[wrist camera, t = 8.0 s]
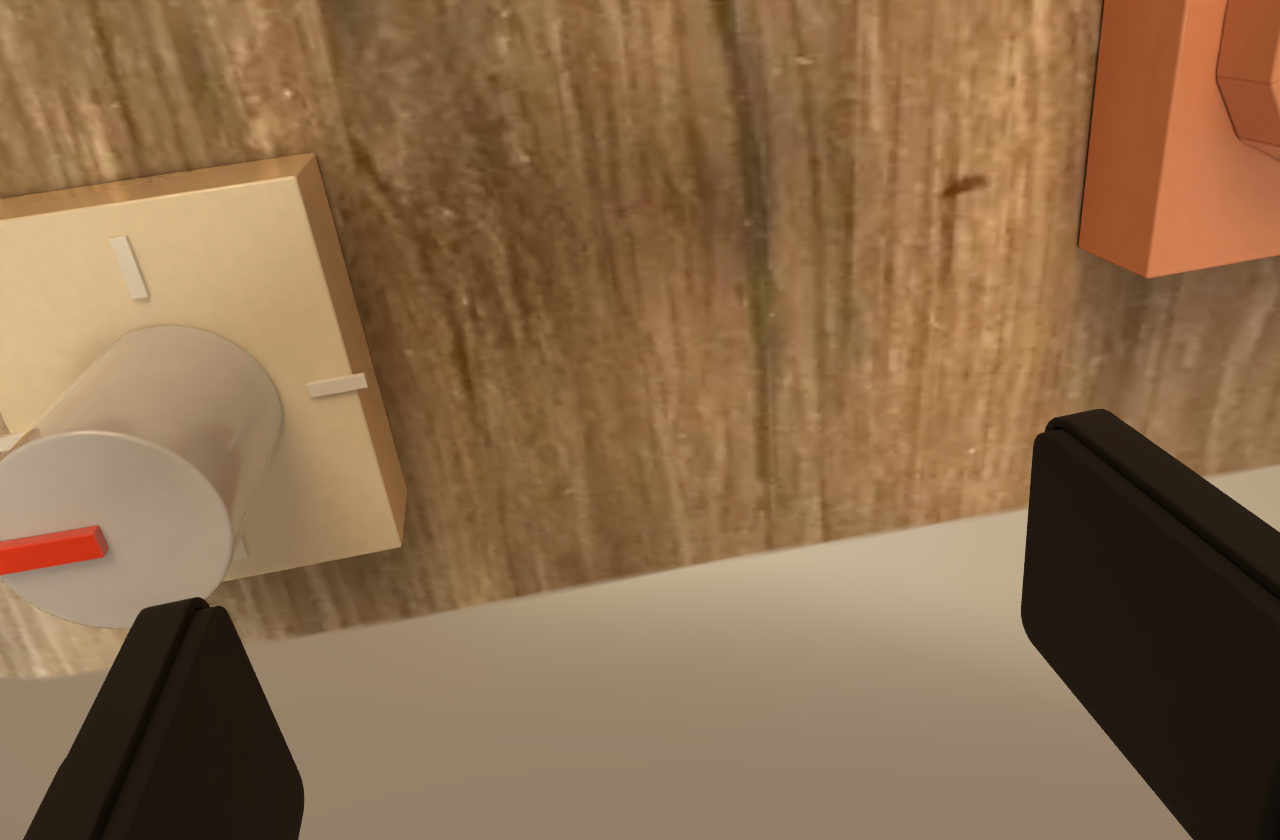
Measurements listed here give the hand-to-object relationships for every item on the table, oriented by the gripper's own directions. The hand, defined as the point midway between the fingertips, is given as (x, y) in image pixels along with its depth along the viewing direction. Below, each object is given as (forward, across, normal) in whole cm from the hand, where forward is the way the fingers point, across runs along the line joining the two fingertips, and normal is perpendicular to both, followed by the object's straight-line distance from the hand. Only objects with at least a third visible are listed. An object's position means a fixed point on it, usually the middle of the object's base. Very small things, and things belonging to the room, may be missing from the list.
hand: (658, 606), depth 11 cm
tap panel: (+16, +9, +2) cm, 19 cm away
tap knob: (+13, +9, +2) cm, 16 cm away
